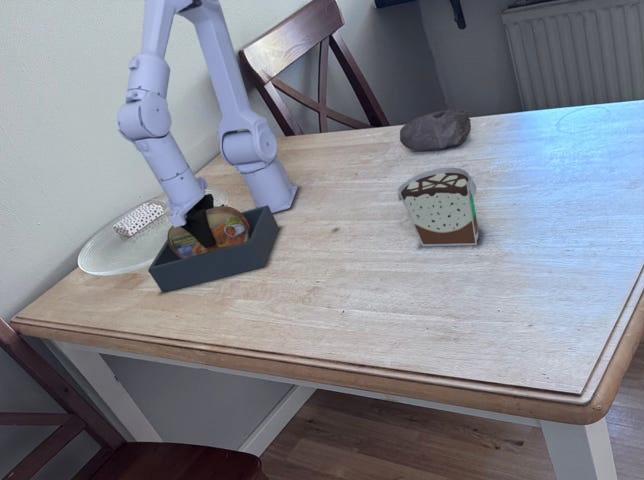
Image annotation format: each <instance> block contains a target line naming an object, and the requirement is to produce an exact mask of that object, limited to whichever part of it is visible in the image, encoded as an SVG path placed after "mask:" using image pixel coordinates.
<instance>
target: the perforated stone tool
mask: <svg viewBox="0 0 644 480" xmlns="http://www.w3.org/2000/svg"><path fill="white" fill-rule="evenodd" d="M471 123H472V122H471V119H470V117H469V113H468V110H466V109H464V108H453V109H444V110H439V111H434V112H431V113H427V114H424V115H421V116H418V117H416V118H414V119H411V120H410V121H408V122H407V123H405V124H404V125H403V126H402V127H401V128H400V130H399V141H400V143H401V144H402V145H403V146H404V147H405V148H407V149H409V150H412V151H415V152H417V151H418V152H421V151H425V150H427V151H438V150H439V151H440V150H445V149H446V148H449V147H450V146H454V147H458V146H460V145H461V144H462V143H463V142H465V141H466V140H467V139H468V137H469V135H470V133H471V129H472V125H471Z"/></svg>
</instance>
